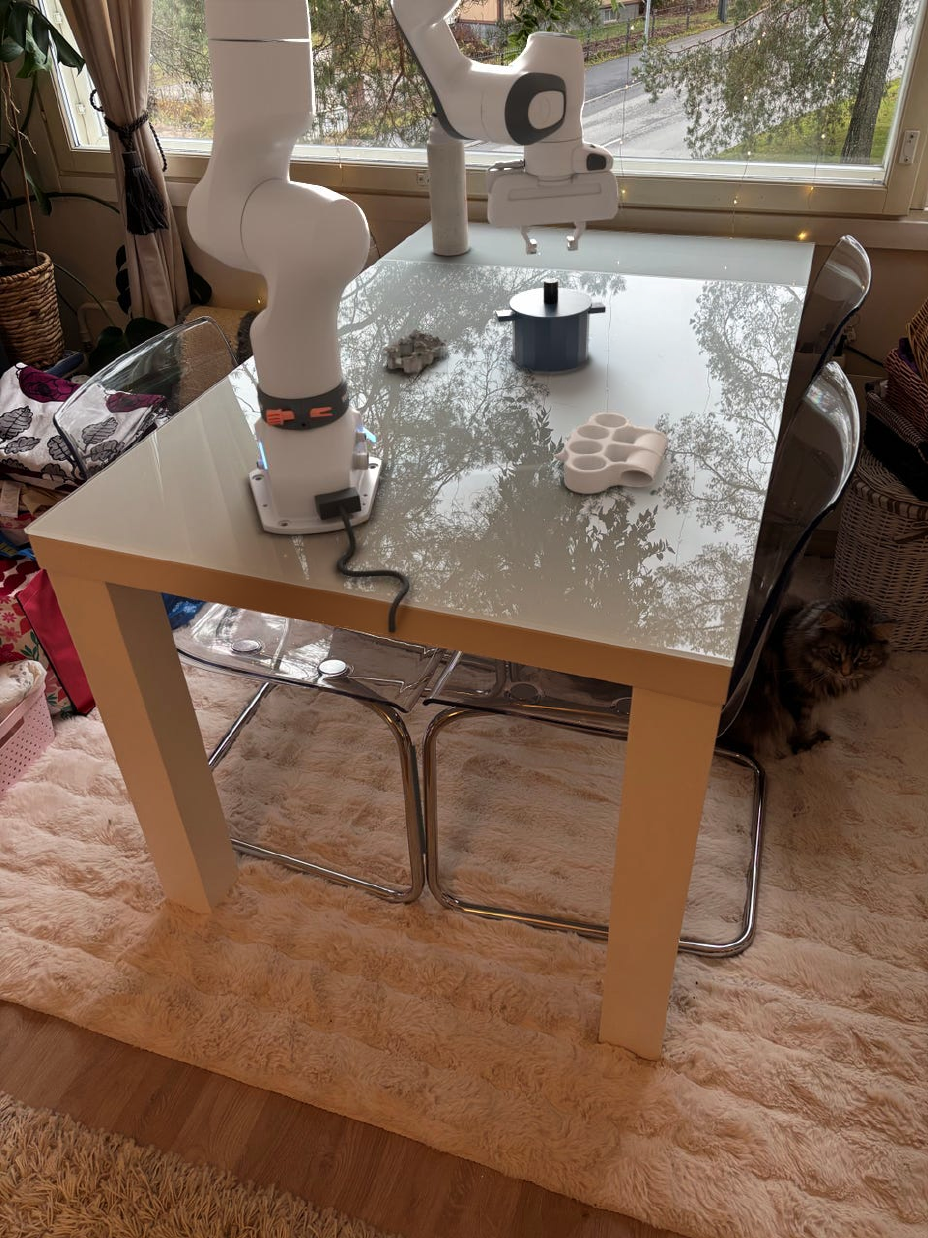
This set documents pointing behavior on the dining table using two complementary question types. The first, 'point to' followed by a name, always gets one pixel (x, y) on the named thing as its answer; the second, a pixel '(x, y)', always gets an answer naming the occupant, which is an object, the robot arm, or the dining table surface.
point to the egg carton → (422, 347)
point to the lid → (550, 302)
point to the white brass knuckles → (611, 454)
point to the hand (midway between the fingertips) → (551, 251)
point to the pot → (550, 340)
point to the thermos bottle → (447, 191)
